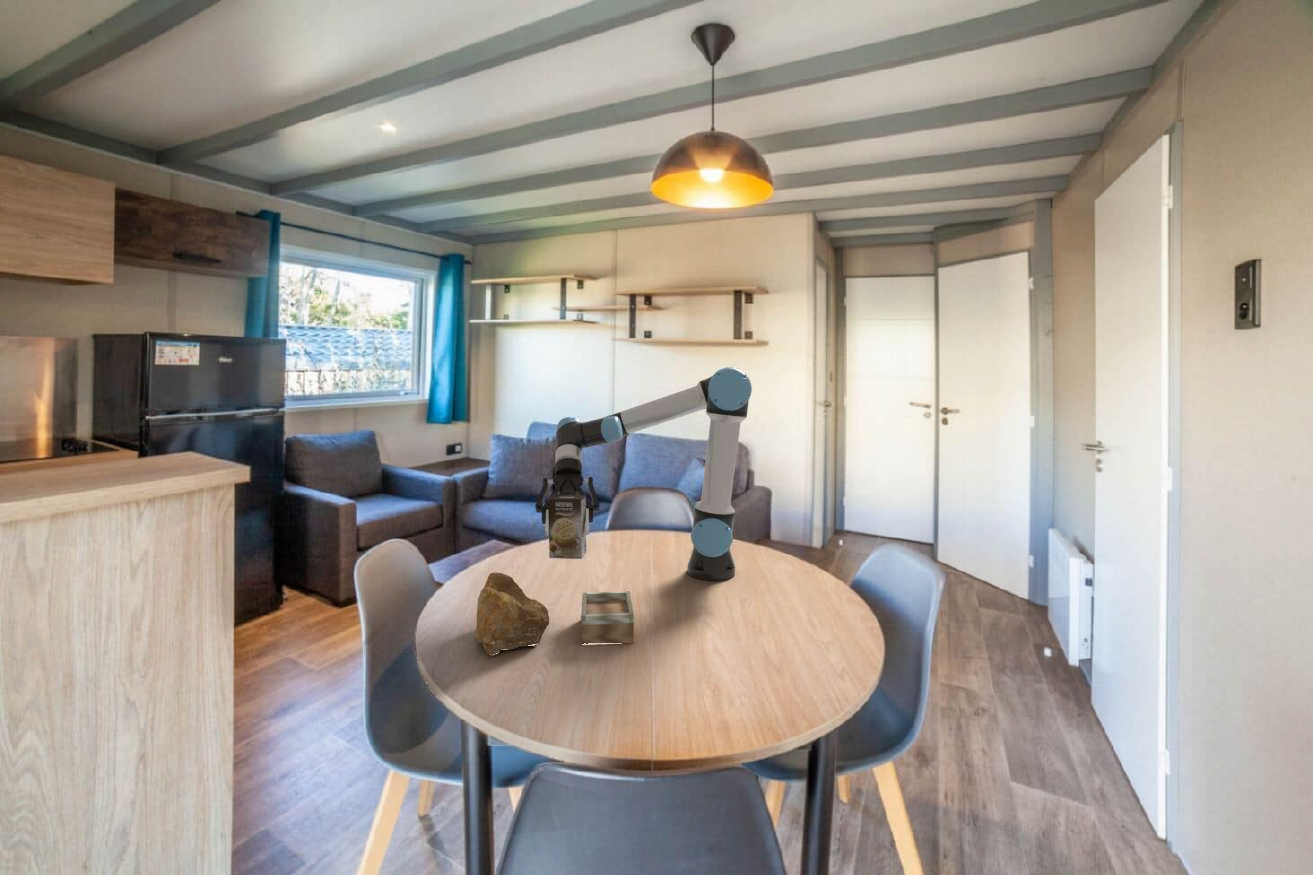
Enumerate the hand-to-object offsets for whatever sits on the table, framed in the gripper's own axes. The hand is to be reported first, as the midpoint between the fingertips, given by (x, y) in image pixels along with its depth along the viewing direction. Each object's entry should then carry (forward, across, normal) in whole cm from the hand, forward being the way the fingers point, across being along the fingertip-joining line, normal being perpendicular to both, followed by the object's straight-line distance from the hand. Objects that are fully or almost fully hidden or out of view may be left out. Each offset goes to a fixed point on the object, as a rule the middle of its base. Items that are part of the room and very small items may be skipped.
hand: (567, 532), depth 150 cm
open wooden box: (+24, -10, -6) cm, 27 cm away
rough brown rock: (+27, +12, -3) cm, 30 cm away
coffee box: (+3, 0, -7) cm, 8 cm away
